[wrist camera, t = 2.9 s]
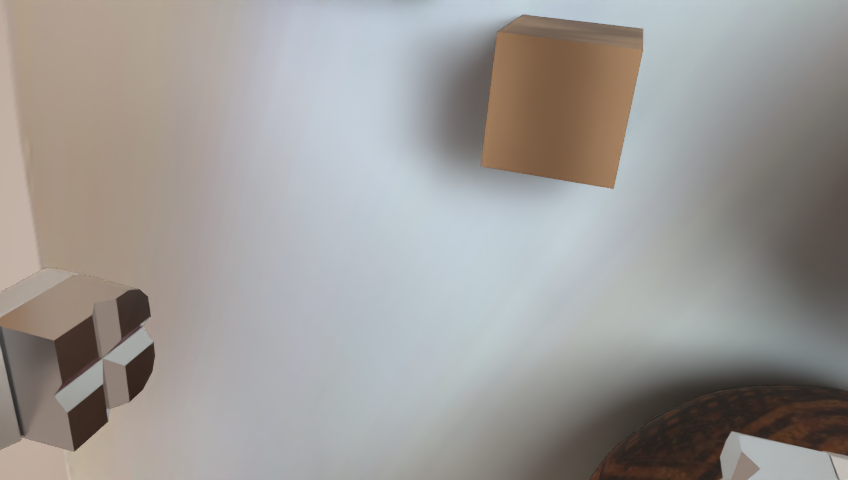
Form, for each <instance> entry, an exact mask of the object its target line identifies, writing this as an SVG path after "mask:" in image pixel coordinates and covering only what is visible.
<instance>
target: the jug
mask: <svg viewBox="0 0 848 480" xmlns="http://www.w3.org/2000/svg"><path fill="white" fill-rule="evenodd" d="M732 431H733V432H737V433H742V434H746V435H751V436H755V437H759V438H764V439H768V440H773V441H777V442H781V443H786V444H790V445H795V446H799V447H803V448H808V449H812V450H816V451H821V452H822V451H826V452H831V453H836V454H841V455H845V456H848V391H845V390H840V389H831V388H819V387H806V386H750V387H743V388H735V389H728V390H721V391H717V392H713V393H710V394H706V395H703V396H699V397H697V398H694V399H692V400H690V401H687V402H685V403H683V404H681V405H679V406H677V407H675V408H673V409H672V410H670V411H668V412H666V413H664V414H662V415H660V416H659V417H657V418H655V419H654V420H652V421H650V422H649V423H647V424H646V425H644V426H643V427H641V428H640V429H639V430H637V431H636V432H634V433H633V434H632V435H630V436H629V437H627V438H626V439H625V440H623V441H622V442H620V443H619V444H618V445H617V446H616V447H615V448H614V449H613V450H612V451H611V452H610V453H609V454H608V455H607V456H606V457H605V459H604V460H603V461H602V463H601V464H600V465H599V467H598V468H597V470H596V471H595V472H594V474H593V475H592V476H591V478H590V480H720V479H722V478H723V475H722V468H721V460H720V456H721V453H722V450H723V447H724V445H725V442H726V440H727V438H728V437H729V435H730V433H731V432H732Z"/></svg>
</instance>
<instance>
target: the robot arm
mask: <svg viewBox="0 0 848 480" xmlns="http://www.w3.org/2000/svg"><path fill="white" fill-rule="evenodd" d="M150 317H151V315H150V308H149V302H148V296H146V295H145V294H144V293H143V292H142V291H141V290H139V289H137V288H133V287H129V286H125V285H122V284H118V283H114V282H110V281H106V280H103V279H99V278H95V277H91V276H87V275H81V274H79V273H75V272H71V271H67V270H63V269H59V268H44V269H42V270H40V271H38V272H36V273H35V274H33V275H31V276H29V277H27V278H25V279H23V280H22V281H20V282H18V283H16V284H15V285H12V286H11V287H9V288H7V289H5V290H3V291H1V292H0V450H1V449H3V448H5V447H7V446H10V445H12V444H14V443H17V442H19V441H21V437H22V438H26V439H30V440H33V441H37V442H41V443H44V444H48V445H52V446H55V447H59V448H63V449H66V450H70V451H76V450H77V449H78V448H79V447H80V446H81V445H82V444H83V443H85V442H86V441H87V440H88V439H89V438H90V437H91V436H92V435H93V434H95V433H96V432H97V431H98V430H99V429H100V428H101V427H102V426H104V425H105V424H106V423H107V422H108V419H109V410H110V409H111V408H114V407H117V406H120V405H123V404H125V403H128V402H130V401H131V400H132V399H133V398H134V397H135V396H136V395H138V394H139V393H140V392H141V391H142V390H143V388H144V386H145V384H146V382H147V381H148V379H149V377H150V375H151V373H152V370H153V364H154V358H155V353H154V342H153V340H152V339H151V337H150V336H149V335H148V333H147V332H146V330H145V329H144V327H143V326H144V325H145V323H146V322H147V321H148V319H149V318H150ZM720 460H721V468H722V475H723V478H722V479H720V480H848V456H845V455H841V454H836V453H831V452H826V451H822V452H821V451H816V450H812V449H808V448H803V447H799V446H795V445H790V444H786V443H781V442H777V441H773V440H768V439H764V438H759V437H755V436H751V435H746V434H742V433H737V432H733V431H732V432H731V433H730V435H729V437H728V438H727V440H726V442H725V445H724V447H723V450H722V453H721V456H720Z"/></svg>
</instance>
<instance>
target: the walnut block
mask: <svg viewBox="0 0 848 480" xmlns="http://www.w3.org/2000/svg"><path fill="white" fill-rule="evenodd" d="M642 52H643V29H640V28H632V27H623V26H615V25H606V24H598V23H589V22H581V21H572V20H564V19H555V18H547V17H539V16H530V15H522V16H521V17H519V18H518V19H516V20H514V21H513V22H511V23H510V24H508V25H507V26H505V27H504V28H502V29H501V30H499V31H498V32H497V37H496V45H495V53H494V62H493V70H492V78H491V86H490V94H489V103H488V111H487V119H486V127H485V136H484V144H483V152H482V160H481V166H483V167H488V168H494V169H500V170H506V171H512V172H518V173H524V174H529V175H535V176H541V177H547V178H553V179H559V180H565V181H570V182H576V183H582V184H588V185H594V186H600V187H606V188H611V189H613V188H614V184H615V179H616V174H617V170H618V165H619V160H620V156H621V151H622V146H623V141H624V137H625V132H626V127H627V123H628V118H629V113H630V109H631V104H632V99H633V94H634V90H635V85H636V80H637V76H638V71H639V66H640V62H641V57H642Z"/></svg>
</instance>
